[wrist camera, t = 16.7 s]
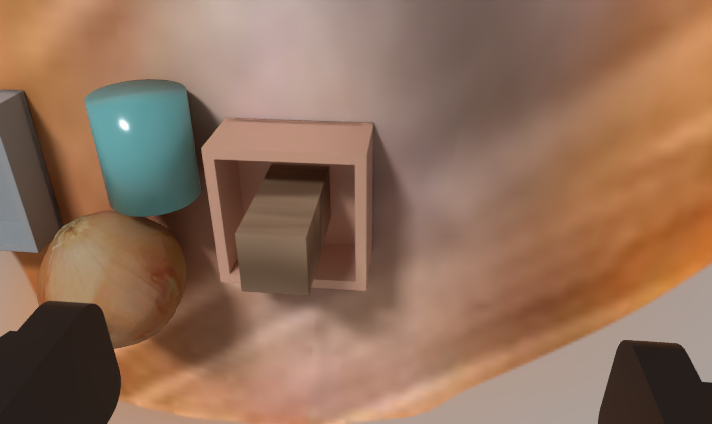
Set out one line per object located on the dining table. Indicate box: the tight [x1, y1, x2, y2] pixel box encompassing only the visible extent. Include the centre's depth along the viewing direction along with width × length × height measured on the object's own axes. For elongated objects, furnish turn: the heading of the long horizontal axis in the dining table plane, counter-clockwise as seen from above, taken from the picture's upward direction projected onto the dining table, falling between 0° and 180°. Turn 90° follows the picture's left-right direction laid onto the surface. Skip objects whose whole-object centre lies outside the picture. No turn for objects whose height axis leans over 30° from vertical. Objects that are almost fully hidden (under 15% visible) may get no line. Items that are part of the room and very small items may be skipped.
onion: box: [37, 211, 187, 349], centre depth 42 cm, size 10×10×10 cm
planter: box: [201, 118, 373, 291], centre depth 40 cm, size 10×10×5 cm
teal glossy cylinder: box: [85, 79, 201, 217], centre depth 39 cm, size 7×6×6 cm
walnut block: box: [235, 164, 331, 296], centre depth 38 cm, size 4×4×9 cm
